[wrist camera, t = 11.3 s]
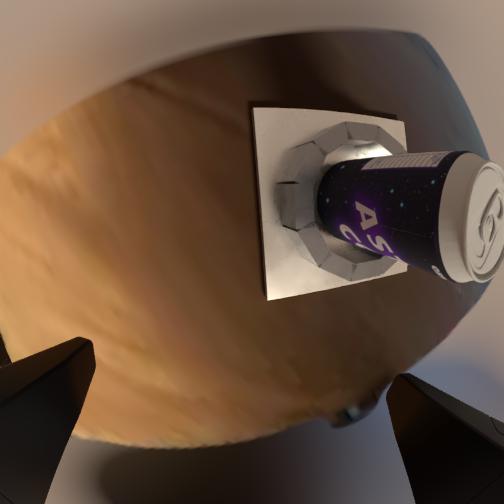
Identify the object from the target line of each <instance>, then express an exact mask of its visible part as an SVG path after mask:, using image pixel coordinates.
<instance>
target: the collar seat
mask: <svg viewBox="0 0 504 504" xmlns="http://www.w3.org/2000/svg"><path fill="white" fill-rule="evenodd" d="M251 113H252V125H253V137H254V149H255V162H256V174H257V187H258V200H259V214H260V227H261V241H262V255H263V270H264V284H265V297H266V299H267V300H273V299H279V298H284V297H290V296H295V295H300V294H305V293H310V292H316V291H321V290H325V289H330V288H335V287H340V286H345V285H349V284H354V283H358V282H363V281H367V280H372V279H376V278H380V277H384V276H389V275H393V274H397V273H401V272H405V271H407V264H406V263H403V262H400V261H398V260H395V259H392V258H390V257H387V256H384V255H382V254H379V253H376V252H373V251H371V250H368V249H365V248H362V247H360V246H357V245H354V244H351V243H348V242H345V241H343V240H340V239H338V238H336V237H334V236H333V235H331V234H330V233H329V232H328V231H327V230H326V228H325V227H324V225H323V223H322V222H321V219H320V217H319V213H318V209H317V192H318V188H319V185H320V182H321V180H322V178H323V176H324V175H325V173H326V172H327V171H328V170H329V169H330V168H331V167H332V166H333V165H335V164H337V163H339V162H341V161H345V160H353V159H361V158H370V157H379V156H389V155H400V154H408V153H407V148H406V138H405V129H404V122H401V121H396V120H391V119H385V118H379V117H373V116H366V115H359V114H352V113H343V112H334V111H323V110H310V109H292V108H253V109H252V110H251Z"/></svg>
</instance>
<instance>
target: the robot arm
mask: <svg viewBox="0 0 504 504" xmlns="http://www.w3.org/2000/svg"><path fill="white" fill-rule="evenodd" d="M95 368H96V361H95V355H94V348H93V343H92V341H91V340H89V339H86V338H83V337H76V338H73V339H71V340H68V341H66V342H64V343H61V344H59V345H56V346H54V347H51V348H49V349H46V350H44V351H41V352H39V353H36V354H34V355H31V356H29V357H26V358H24V359H21V360H19V361H16V362H13V363H11V361H10V359H9V357H8V355H7V353H6V350H5V348H4V346H3V343H2V341H1V338H0V504H44V503H45V500H46V498H47V494H48V492H49V489H50V486H51V483H52V481H53V478H54V475H55V472H56V470H57V467H58V465H59V462H60V460H61V457H62V455H63V452H64V449H65V447H66V445H67V443H68V440H69V438H70V436H71V433H72V431H73V429H74V427H75V424H76V422H77V420H78V418H79V415H80V413H81V410H82V407H83V404H84V401H85V398H86V395H87V392H88V389H89V386H90V383H91V381H92V378H93V375H94V372H95ZM386 401H387V405H388V409H389V413H390V417H391V422H392V426H393V430H394V434H395V438H396V441H397V444H398V447H399V450H400V453H401V456H402V459H403V462H404V466H405V469H406V472H407V475H408V478H409V482H410V485H411V489H412V492H413V496H414V500H415V503H416V504H504V423H503V422H500V421H499V420H497V419H495V418H493V417H489V415H487V414H484V413H483V412H481V411H479V410H477V409H475V408H473V407H471V406H469V405H467V404H465V403H463V402H461V401H460V400H458V399H456V398H454V397H452V396H450V395H449V394H447V393H445V392H443V391H441V390H439V389H437V388H435V387H434V386H432V385H430V384H428V383H426V382H424V381H423V380H421V379H419V378H417V377H415V376H414V375H412V374H410V373H401V374H398V375H397V376H396V377H395V379H394V381H393V383H392V384H391V386H390V388H389V390H388V391H387V394H386Z"/></svg>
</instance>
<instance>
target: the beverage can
mask: <svg viewBox="0 0 504 504" xmlns="http://www.w3.org/2000/svg"><path fill="white" fill-rule="evenodd" d="M317 209H318V213H319V217H320V219H321V222H322V223H323V225H324V227H325V228H326V230H327V231H328V232H329V233H330V234H331V235H333V236H334V237H336V238H338V239H340V240H343V241H345V242H348V243H351V244H354V245H357V246H360V247H362V248H365V249H368V250H371V251H373V252H376V253H379V254H382V255H384V256H387V257H390V258H392V259H395V260H398V261H400V262H403V263H406V264H408V265H411V266H413V267H416V268H419V269H421V270H424V271H426V272H429V273H431V274H434V275H436V276H439V277H441V278H444V279H446V280H449V281H451V282H454V283H463V282H467V281H471V280H475V281H477V282H486V281H488V280H489V279H491V278H492V277H493V276H494V275H495V274H496V272H497V271H498V270H499V268H500V266H501V264H502V262H503V260H504V171H503V170H502V169H501V167H500V166H499V165H498V164H497V163H496V162H493V161H485V160H484V159H482V158H480V157H479V156H477V155H476V154H474V153H472V152H469V151H446V152H427V153H413V154H400V155H389V156H379V157H370V158H361V159H353V160H345V161H341V162H339V163H337V164H335V165H333V166H332V167H331V168H330V169H329V170H328V171H327V172H326V173H325V175H324V176H323V178H322V180H321V182H320V185H319V188H318V192H317Z"/></svg>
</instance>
